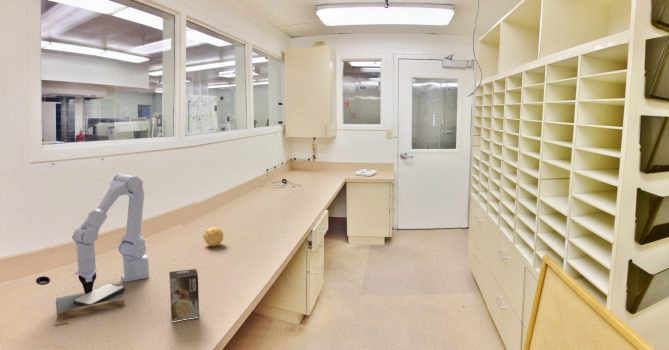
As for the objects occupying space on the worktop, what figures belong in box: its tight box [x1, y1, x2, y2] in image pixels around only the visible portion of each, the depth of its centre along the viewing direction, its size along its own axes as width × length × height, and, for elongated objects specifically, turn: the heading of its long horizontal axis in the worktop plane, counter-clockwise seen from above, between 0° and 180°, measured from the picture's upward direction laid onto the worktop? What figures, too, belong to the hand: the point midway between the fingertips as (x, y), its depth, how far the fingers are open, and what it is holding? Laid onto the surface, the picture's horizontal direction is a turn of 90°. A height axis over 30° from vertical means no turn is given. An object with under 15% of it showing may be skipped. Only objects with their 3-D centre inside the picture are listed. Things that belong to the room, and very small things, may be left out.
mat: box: [56, 292, 123, 312], centre depth 148 cm, size 20×18×1 cm
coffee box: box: [168, 268, 200, 322], centre depth 138 cm, size 9×6×16 cm
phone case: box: [74, 283, 126, 306], centre depth 150 cm, size 9×2×16 cm
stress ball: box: [203, 226, 224, 248], centre depth 210 cm, size 10×10×10 cm
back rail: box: [57, 297, 126, 322], centre depth 140 cm, size 20×2×2 cm, turn 126°
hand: (88, 292), depth 152 cm, fingers closed
